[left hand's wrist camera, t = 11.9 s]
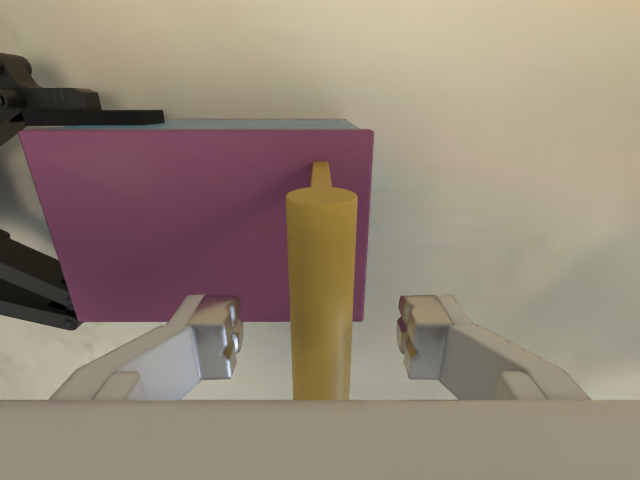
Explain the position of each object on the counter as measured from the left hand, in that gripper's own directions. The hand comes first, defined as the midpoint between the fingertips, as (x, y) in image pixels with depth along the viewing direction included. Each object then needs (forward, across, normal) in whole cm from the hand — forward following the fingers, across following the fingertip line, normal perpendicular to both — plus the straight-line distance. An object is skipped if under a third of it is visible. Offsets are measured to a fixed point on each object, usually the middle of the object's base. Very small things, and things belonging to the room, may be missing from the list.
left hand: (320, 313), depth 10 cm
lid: (+8, -5, 0) cm, 10 cm away
